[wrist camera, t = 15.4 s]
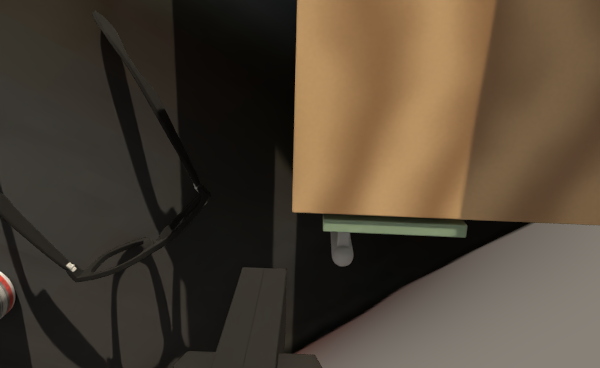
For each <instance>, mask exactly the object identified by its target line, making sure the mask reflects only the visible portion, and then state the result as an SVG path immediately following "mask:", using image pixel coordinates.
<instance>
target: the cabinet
mask: <svg viewBox="0 0 600 368" xmlns="http://www.w3.org/2000/svg"><path fill="white" fill-rule="evenodd" d="M292 212H296V213H320V214H344V215H367V216H391V217H415V218H439V219H463V220H486V221H510V222H534V223H559V224H582V225H600V0H297V21H296V64H295V107H294V150H293V193H292Z"/></svg>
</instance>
